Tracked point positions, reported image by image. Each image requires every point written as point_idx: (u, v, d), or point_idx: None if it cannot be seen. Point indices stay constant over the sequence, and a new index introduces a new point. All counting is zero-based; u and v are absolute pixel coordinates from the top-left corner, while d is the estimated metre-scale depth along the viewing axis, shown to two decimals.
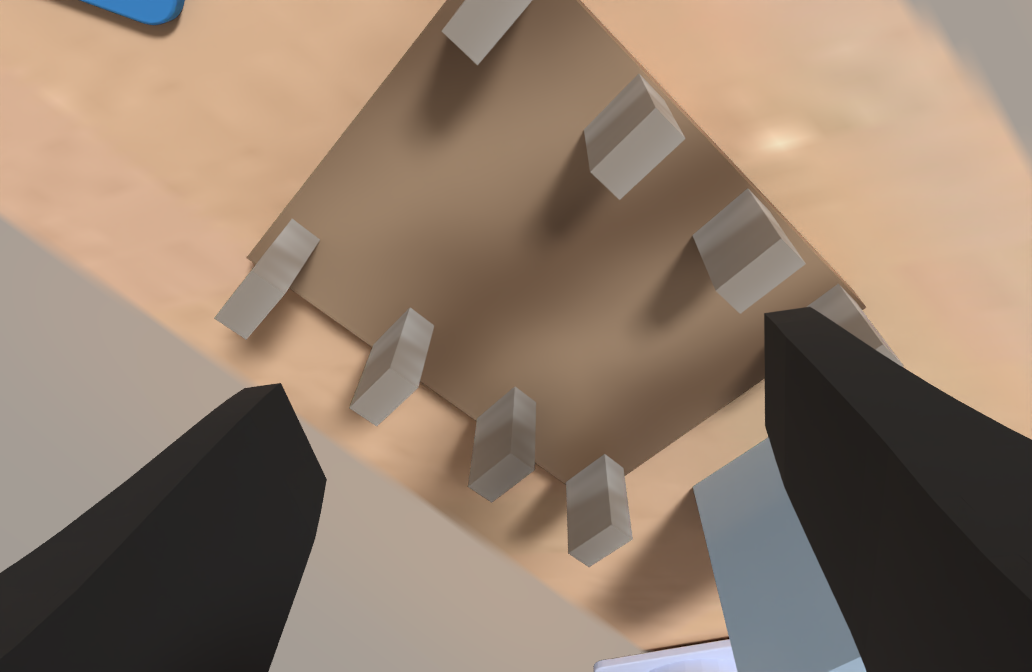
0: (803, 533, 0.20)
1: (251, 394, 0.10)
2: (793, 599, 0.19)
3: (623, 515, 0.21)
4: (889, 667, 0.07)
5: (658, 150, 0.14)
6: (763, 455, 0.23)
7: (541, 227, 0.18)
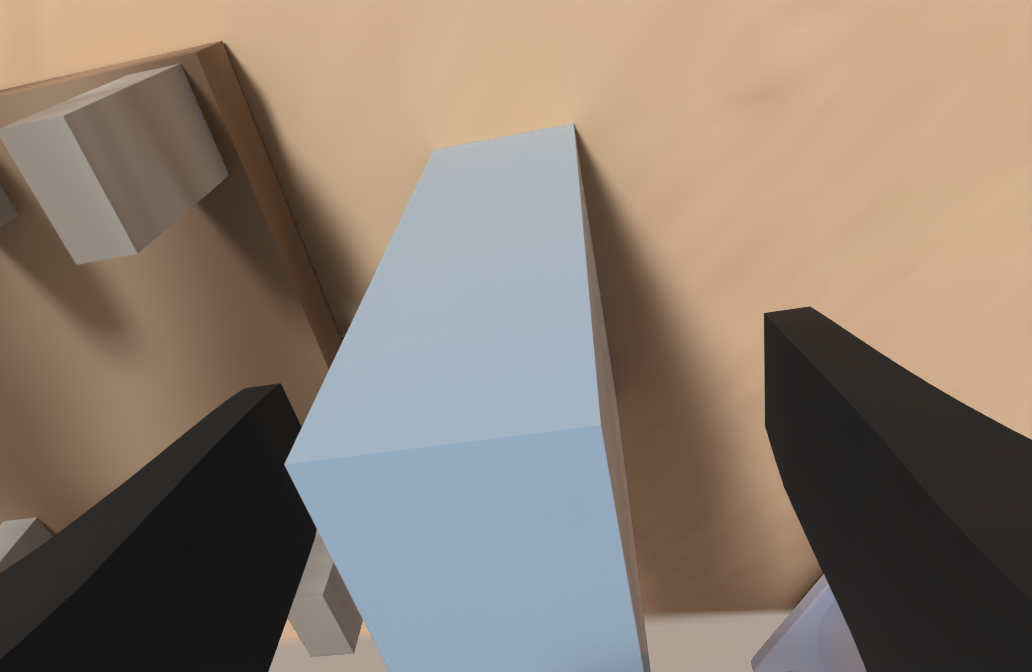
0: None
1: (250, 394, 0.10)
2: None
3: (317, 564, 0.13)
4: (889, 667, 0.07)
5: None
6: None
7: None
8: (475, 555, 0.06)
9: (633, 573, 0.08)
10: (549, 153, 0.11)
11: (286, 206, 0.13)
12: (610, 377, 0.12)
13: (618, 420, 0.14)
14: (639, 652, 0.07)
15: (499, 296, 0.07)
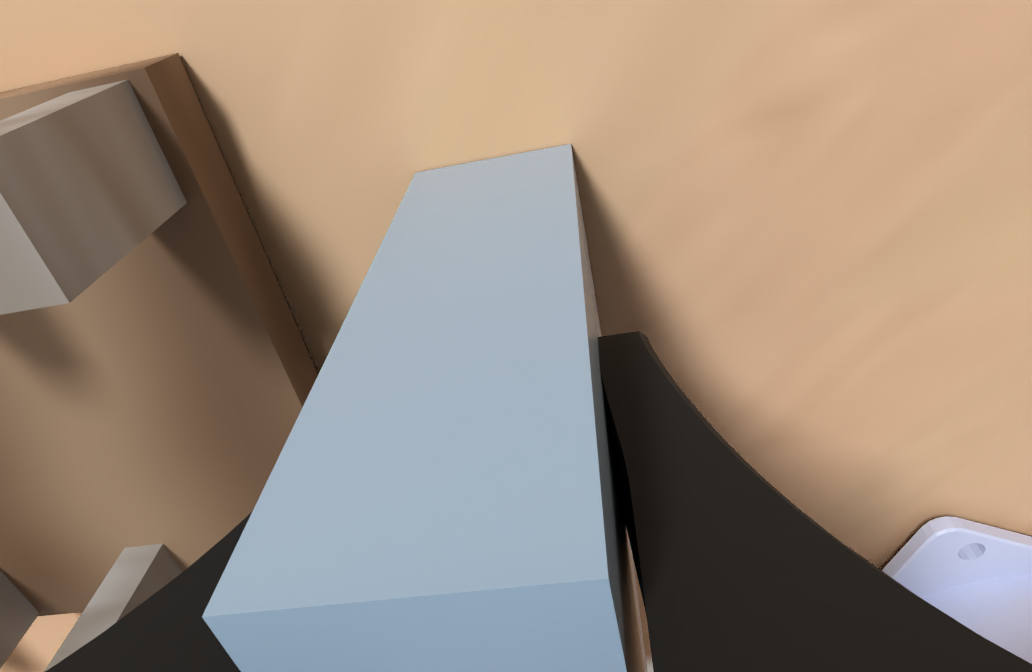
0: None
1: None
2: None
3: None
4: None
5: None
6: None
7: None
8: None
9: None
10: (544, 180, 0.09)
11: (254, 233, 0.12)
12: None
13: None
14: None
15: (482, 369, 0.06)
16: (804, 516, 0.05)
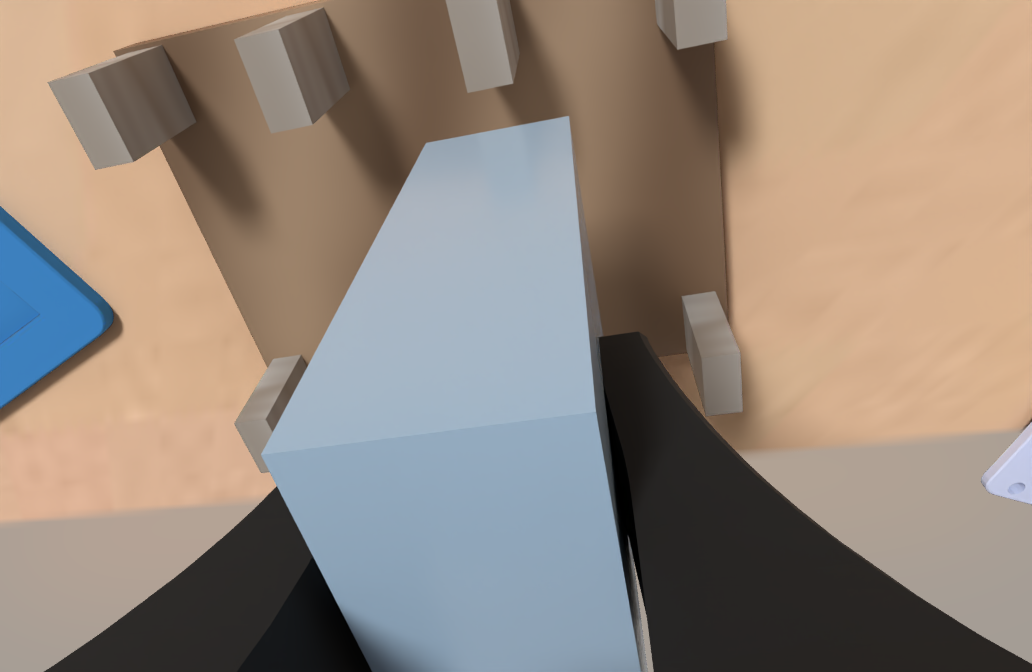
0: None
1: None
2: None
3: (720, 338, 0.17)
4: None
5: (277, 61, 0.13)
6: None
7: (388, 191, 0.18)
8: (463, 552, 0.06)
9: (630, 574, 0.08)
10: (543, 144, 0.10)
11: None
12: None
13: None
14: (636, 655, 0.06)
15: (490, 283, 0.07)
16: (804, 516, 0.05)
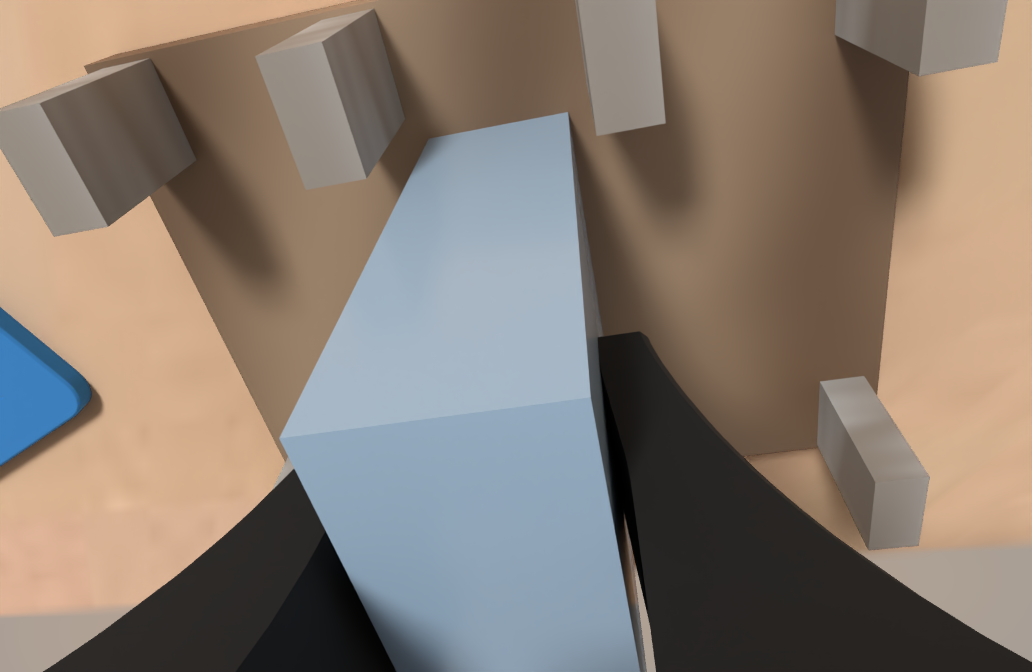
0: None
1: None
2: None
3: (893, 450, 0.13)
4: None
5: (319, 88, 0.09)
6: None
7: None
8: (467, 529, 0.06)
9: (626, 553, 0.08)
10: (543, 141, 0.11)
11: None
12: None
13: None
14: (630, 626, 0.07)
15: (491, 276, 0.07)
16: (806, 515, 0.05)
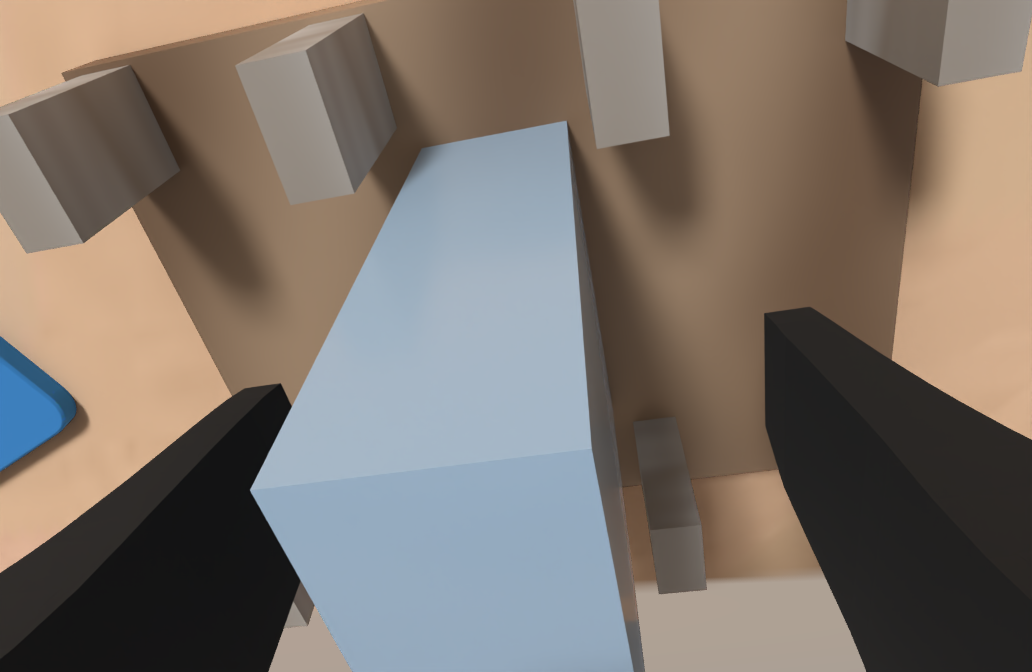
0: None
1: (250, 394, 0.10)
2: None
3: None
4: (889, 667, 0.07)
5: (303, 99, 0.08)
6: None
7: None
8: (458, 584, 0.05)
9: (629, 593, 0.08)
10: (540, 152, 0.10)
11: None
12: (605, 383, 0.11)
13: (614, 426, 0.13)
14: None
15: (485, 305, 0.07)
16: None
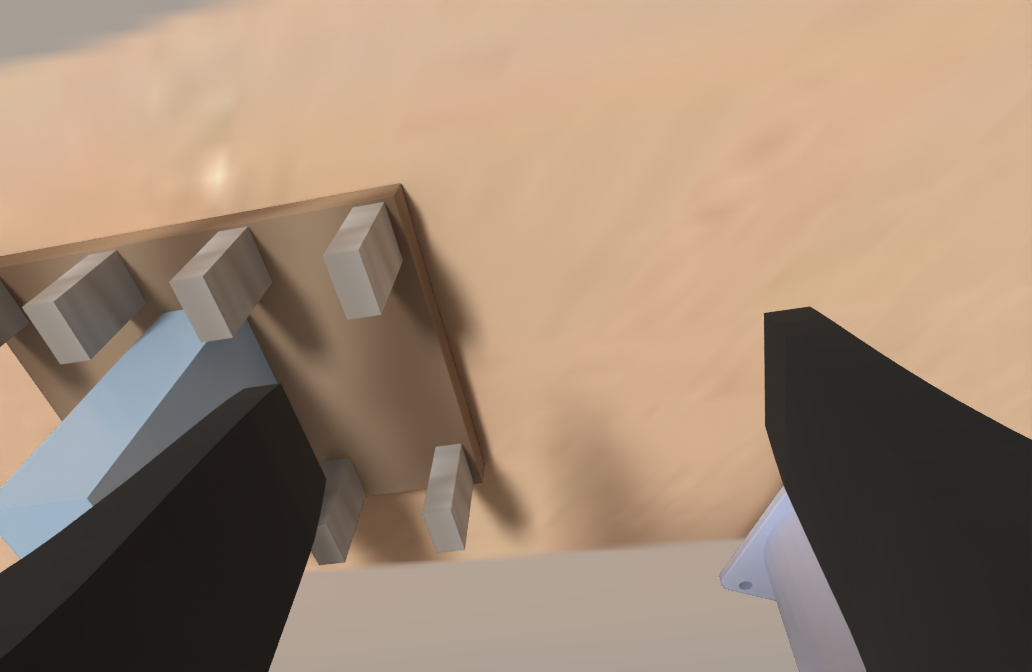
0: None
1: (251, 395, 0.10)
2: None
3: (443, 494, 0.21)
4: (889, 667, 0.07)
5: (56, 321, 0.18)
6: None
7: None
8: None
9: None
10: None
11: (427, 274, 0.21)
12: None
13: None
14: None
15: (105, 431, 0.16)
16: None
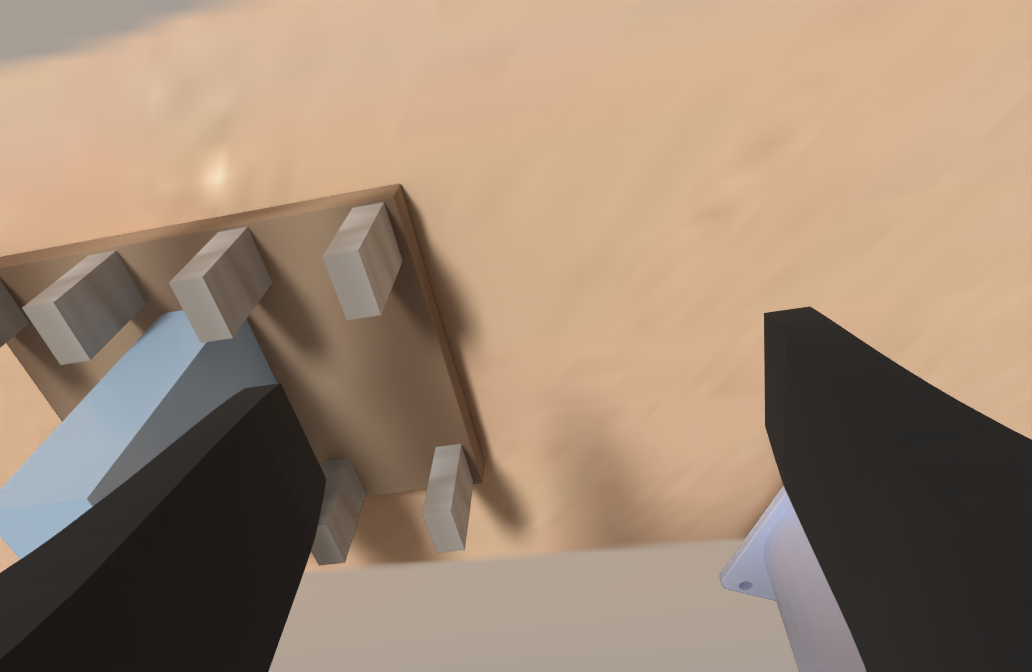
0: None
1: (251, 395, 0.10)
2: None
3: (443, 494, 0.21)
4: (889, 667, 0.07)
5: (56, 321, 0.18)
6: None
7: None
8: None
9: None
10: None
11: (426, 274, 0.21)
12: None
13: None
14: None
15: (105, 431, 0.16)
16: None
